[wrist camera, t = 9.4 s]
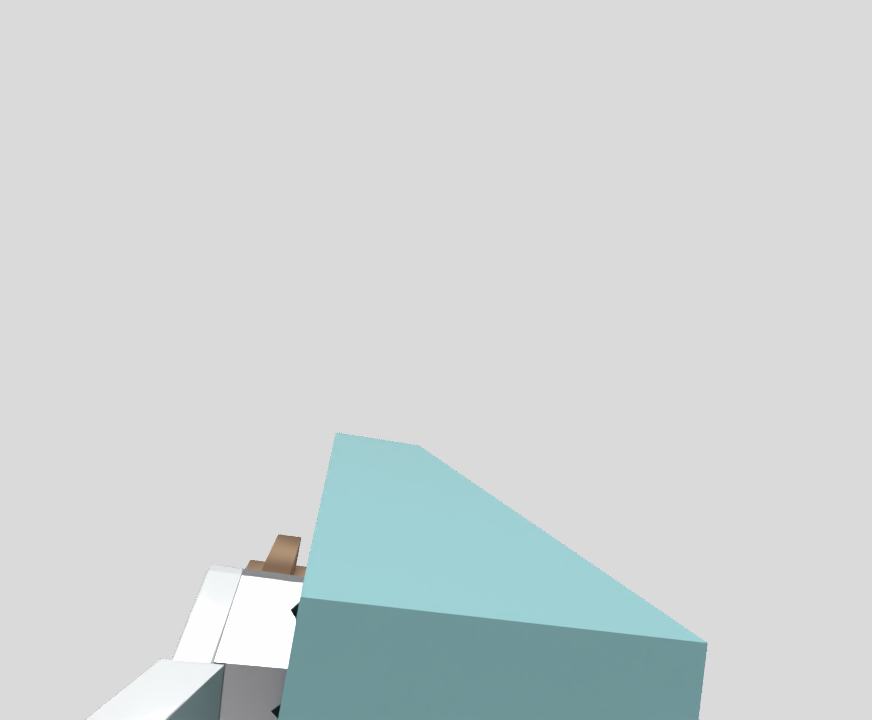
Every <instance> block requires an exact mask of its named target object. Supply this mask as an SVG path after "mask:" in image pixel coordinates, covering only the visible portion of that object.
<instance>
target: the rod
mask: <svg viewBox="0 0 872 720" xmlns="http://www.w3.org/2000/svg"><path fill="white" fill-rule="evenodd" d="M706 651H707V642H705V641H704V640H702V639H701V638H699V637H698V636H697V635H695V634H693V633H692V632H691V631H689V630H688V629H686V628H685V627H683V626H682V625H680V624H679V623H677V622H676V621H675V620H673V619H672V618H670V617H669V616H667V615H666V614H664V613H663V612H661V611H660V610H658V609H657V608H656V607H654V606H653V605H651V604H650V603H648V602H647V601H645V600H644V599H642V598H641V597H640V596H638V595H637V594H635V593H634V592H632V591H631V590H629V589H628V588H626V587H625V586H623V585H622V584H620V583H619V582H618V581H616V580H615V579H613V578H612V577H610V576H609V575H607V574H606V573H604V572H603V571H602V570H600V569H598V568H597V567H596V566H594V565H593V564H591V563H590V562H588V561H587V560H585V559H584V558H583V557H581V556H580V555H578V554H577V553H575V552H574V551H572V550H571V549H569V548H568V547H566V546H565V545H564V544H562V543H561V542H559V541H558V540H556V539H555V538H553V537H552V536H550V535H549V534H547V533H546V532H545V531H543V530H542V529H540V528H539V527H537V526H536V525H534V524H533V523H531V522H530V521H528V520H527V519H526V518H524V517H523V516H521V515H519V514H518V513H517V512H515V511H514V510H512V509H511V508H509V507H508V506H507V505H505V504H503V503H502V502H501V501H499V500H498V499H496V498H495V497H493V496H492V495H490V494H489V493H487V492H486V491H485V490H483V489H482V488H480V487H479V486H477V485H476V484H474V483H473V482H471V481H470V480H469V479H467V478H465V477H464V476H462V475H461V474H459V473H458V472H457V471H455V470H454V469H452V468H451V467H450V466H448V465H447V464H445V463H444V462H442V461H441V460H439V459H438V458H436V457H435V456H433V455H432V454H431V453H429V452H428V451H426V450H425V449H423V448H422V447H420V446H418V445H412V444H405V443H399V442H393V441H386V440H380V439H374V438H367V437H361V436H354V435H348V434H342V433H336V435H335V440H334V444H333V448H332V453H331V458H330V463H329V467H328V471H327V476H326V481H325V485H324V490H323V494H322V499H321V504H320V508H319V513H318V517H317V522H316V527H315V531H314V536H313V540H312V545H311V550H310V554H309V559H308V563H307V568H306V573H305V577H304V582H303V586H302V591H301V596H300V601H299V606H298V612H297V617H296V623H295V628H294V634H293V640H292V645H291V651H290V656H289V662H288V667H287V673H286V678H285V684H284V689H283V695H282V700H281V706H280V711H279V717H278V720H698V718H699V710H700V701H701V693H702V684H703V676H704V667H705V660H706Z"/></svg>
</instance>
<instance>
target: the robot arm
mask: <svg viewBox="0 0 872 720" xmlns="http://www.w3.org/2000/svg"><path fill="white" fill-rule="evenodd" d="M303 582H304V577H301V576H294V575H287V574H280V573H274V572H267V571H260V570H253V569H246V568H245V569H243V568H235V567H229V566H222V565H214V564H212V565H211V566H210V568H209V569H208V570H207V572H206V574H205V576H204V579H203V581H202V584H201V586H200V589H199V591H198V594H197V596H196V599H195V601H194V604H193V606H192V609H191V611H190V614H189V616H188V619H187V621H186V624H185V627H184V629H183V632H182V634H181V636H180V639H179V642H178V644H177V646H176V649H175V651H174V654H173V656H172V659H160V660H158V661H157V662H156V663H155V664H153V665H152V666H151V667H150V668H148V669H147V670H146V671H145V672H143V673H142V674H141V675H140V676H138V678H136V679H135V680H134V681H132V682H131V683H130V684H129V685H127V687H125V688H124V689H122V690H121V691H120V692H119V693H118V694H116V695H115V696H114V697H113V698H111V699H110V700H109V701H108V702H106V703H105V704H104V705H103V706H102V707H100V708H99V709H98V710H97V711H95V712H94V713H93V714H92V715H90V716H89V717H88V718H87V719H85V720H278V717H279V711H280V706H281V700H282V695H283V689H284V684H285V678H286V673H287V667H288V662H289V656H290V651H291V645H292V640H293V634H294V628H295V623H296V617H297V612H298V606H299V601H300V596H301V591H302V586H303ZM698 720H700V719H698Z"/></svg>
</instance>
